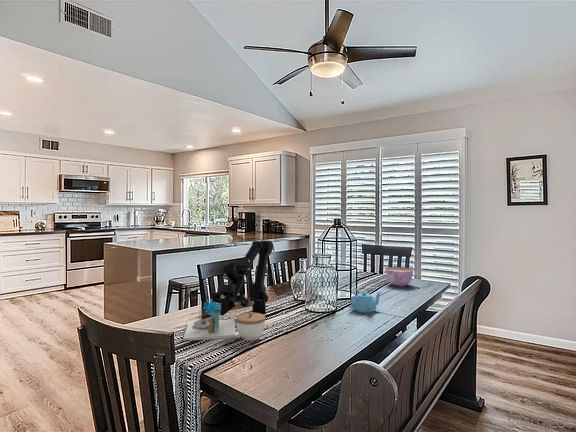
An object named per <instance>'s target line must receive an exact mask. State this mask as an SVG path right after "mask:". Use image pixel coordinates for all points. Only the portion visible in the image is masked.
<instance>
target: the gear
mask: <svg viewBox="0 0 576 432" xmlns="http://www.w3.org/2000/svg"><path fill="white" fill-rule="evenodd" d="M202 308H203V310H204V312H205V314H207V313H208V314H207V315H208V316H212V311H214V310H218V311H219V314H220V313H221V303H215V302H214V301H213V300H212V299H211V298H210V300H209V299H208V300H205V302H204V303H203V307H202Z"/></svg>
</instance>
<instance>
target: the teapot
mask: <svg viewBox="0 0 576 432" xmlns="http://www.w3.org/2000/svg"><path fill="white" fill-rule="evenodd" d="M381 294H382V291H379V292H377V293H376V296H375V299H374V297H373V295H371V294H370V293H368V292H367V291H362V292H361V291H360V289H359V288H356V295H353V296H351V297H350V303H351V304H350V305H349V308H350V309H351V310H353V311H355V312H357V313H362V314H371V313H374V312H375V311H376V310H377V306H378V304H379V302H380V295H381Z"/></svg>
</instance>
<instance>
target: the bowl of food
mask: <svg viewBox="0 0 576 432" xmlns="http://www.w3.org/2000/svg"><path fill="white" fill-rule="evenodd" d="M384 271H385V276H386V279H387V282H389V284H391V285H393V286H394V287H405V286H406V285H409V284H410V283H411V281H412V278H413V274H414V269H413V268H411V267H410V268H409V267H402V266H400V267H399V266H395V267H394V266H391V267H389V266H388V267H386V268H384Z"/></svg>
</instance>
